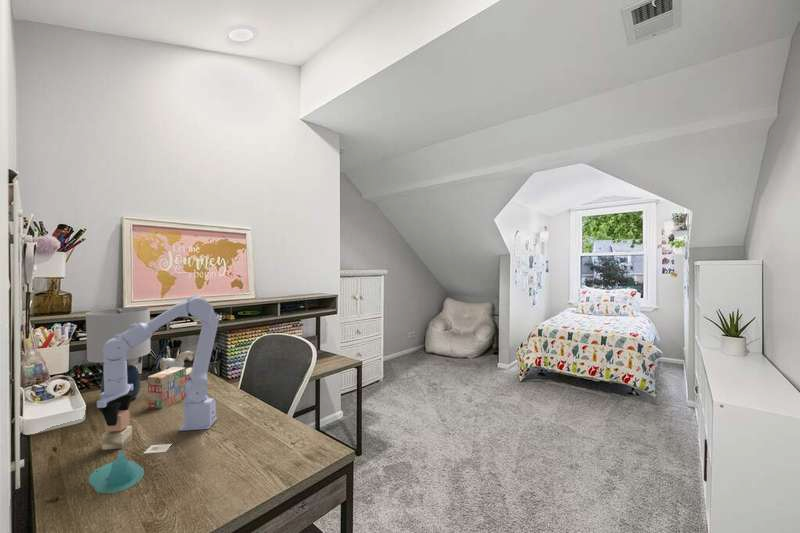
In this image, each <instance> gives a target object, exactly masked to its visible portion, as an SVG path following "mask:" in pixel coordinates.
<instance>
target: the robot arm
mask: <svg viewBox="0 0 800 533" xmlns="http://www.w3.org/2000/svg"><path fill="white" fill-rule="evenodd" d="M189 314H190V315H191V316H192V317H194V318H196V319H197V320H198V321H199V323H201V328H200V329H201V330H200V333H199V338H198V341H197V346H196V350H195V351H196V352H195V353H194V357H193V363H192V366H191V368H192V370H191V372H190V374H189V378H188V379H187V381H186V382H185V383H184V391H185V392H186V397H185V398H183V425H181V427H180V428H179V429H178V431H180V432H181V431H196V430H198V431H199V430H209V429H210V428H211V427H212V425H214V423H215V422H216V420H217V419H218V418H217V401H216V399H215V398H211V397H209V396H208V392H209V390H208V387H207V386H208V385H207V383H208V371H209V366H210V362H211V358H212V352H213V348H214V344H215V340H216V339H215V338H216V336H217V330H218V327H219V326H218V325H219V319H218V316H217V314H216V312H215V310H214V308H213V305H212V304H211V303H210V302H209V301H208V300H207V299H205V298H203V297H202V296H200V295H192V296H190V297H189V298H187V299H184V300H182V301H180V302H178V303H176V304H175V305H173V306H171V307H170V308H169V309H167V310H165V311H163V312H162V313H161V314H159V315H157V316H156V317H154V318H153V319H150V322H148V323H138V324H137V325H136V324H133V325H131V327H132V328H130V329H128V330H127V331H125V332H123V333H122V334H120V335H119V334H117V335H115V337H116V338H112V339H110V340H108V341H107V342H106V343H105V345H104V347H103V351H102V352H103V355H104V362H103V375H104V392H103V393H101V392H100V394H99V395H100V398H99V400H97V401H96V408H97V409H98V410H99V411H100V413H101V414H102V416H103V417H104V418H105V420H106V423H107V426H114V425H116V423H117V415H118V411H119V410H129V408H130V404H131V403H132V400H133V399H134V398H133V396H134V393H129V391H132V390H133V384H127V363H128V360H126V355H125V354H126V352H127V350H130V349H133V348H135V347H136V346H138V345H139V344H141V343H143V342H144V341H146V340H147V339H149V338H150V339H151V338H152V336H153V332H155V331H156V330H158V329H160V328H161V327H163V326H165V325H167V324H168V323H170V322H172V321H173V320H175V319H177V318H184V317H185V318H186V317H187V318H188V317H189ZM132 398H133V399H132ZM105 420H104V421H105Z"/></svg>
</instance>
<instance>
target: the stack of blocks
mask: <svg viewBox="0 0 800 533" xmlns="http://www.w3.org/2000/svg"><path fill="white" fill-rule="evenodd" d="M168 368H169V367H168ZM168 368H166V370H164V371H162V372H160V371H159V372H157V373H154V374H151V375H149V376H147V392H148V393H147V394H148V408H150V409H151V408H152V409H164V408H167V407H169V406H171V405H172V404H173V405H174V404H175V403H177V402H178V401H181V400H184V399H185V397H186V392H185V391H184V383H185V382H186V381H187V379H188V378H189V374H190V372H191V370H192V367H184V366H183V367H172V368H169V369H168Z"/></svg>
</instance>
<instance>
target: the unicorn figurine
mask: <svg viewBox="0 0 800 533" xmlns="http://www.w3.org/2000/svg"><path fill="white" fill-rule="evenodd" d="M193 354H196V350H195V351H191V349H190V350H186V351H183V352H181V353H179V354H178V355H177V356H176V357H175V358H171V357H166V358H165V357H162V358H160V360H159V366H160V367H159V368H160V371H159V372H162V371H164V370H166V369H169V368H172V367H184V366H185V360H186V358H187V359H188V361H194V356H193Z"/></svg>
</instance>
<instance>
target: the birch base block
mask: <svg viewBox="0 0 800 533" xmlns="http://www.w3.org/2000/svg"><path fill="white" fill-rule="evenodd" d="M132 440H133V425H128V426H127V427H125V428H124V429H123V430H121V431H109V432H105V431H104V433H103V434H102V435H101V450H113V449H122V448H124V447H126V446H127V444H129V443H130V442H131V441H132Z"/></svg>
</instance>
